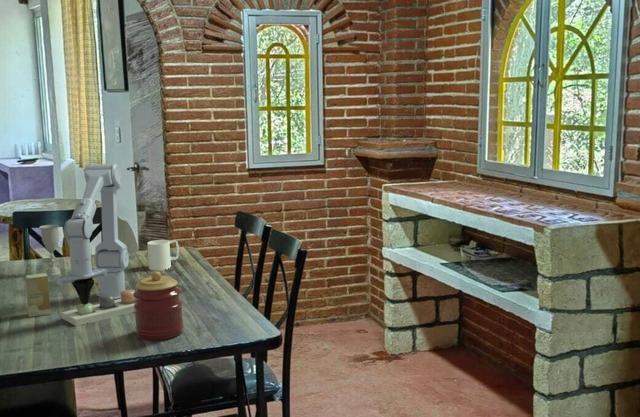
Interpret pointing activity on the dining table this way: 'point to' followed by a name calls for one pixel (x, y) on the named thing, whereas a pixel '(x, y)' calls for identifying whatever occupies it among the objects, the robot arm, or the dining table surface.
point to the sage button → (84, 309)
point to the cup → (160, 254)
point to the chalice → (51, 244)
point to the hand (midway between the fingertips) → (84, 303)
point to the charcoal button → (106, 301)
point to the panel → (98, 313)
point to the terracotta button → (127, 296)
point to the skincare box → (37, 294)
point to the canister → (158, 308)
